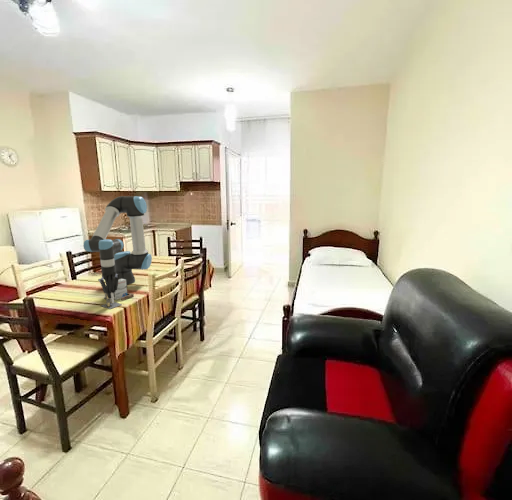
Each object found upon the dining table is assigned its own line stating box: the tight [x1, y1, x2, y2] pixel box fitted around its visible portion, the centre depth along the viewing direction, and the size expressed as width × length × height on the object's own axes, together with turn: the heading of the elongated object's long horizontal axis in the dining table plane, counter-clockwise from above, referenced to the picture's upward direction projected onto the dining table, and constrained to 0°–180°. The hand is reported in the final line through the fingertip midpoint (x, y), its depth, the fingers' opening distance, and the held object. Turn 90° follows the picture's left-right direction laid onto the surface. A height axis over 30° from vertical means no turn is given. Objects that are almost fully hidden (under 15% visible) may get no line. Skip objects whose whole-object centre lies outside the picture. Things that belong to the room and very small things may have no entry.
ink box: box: [114, 279, 128, 301], centre depth 198 cm, size 8×5×12 cm, turn 142°
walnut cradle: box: [103, 291, 135, 302], centre depth 198 cm, size 13×14×5 cm
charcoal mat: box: [100, 301, 123, 310], centre depth 186 cm, size 8×9×1 cm
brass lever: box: [104, 293, 111, 307], centre depth 190 cm, size 3×19×4 cm, turn 28°
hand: (111, 302), depth 186 cm, fingers closed
